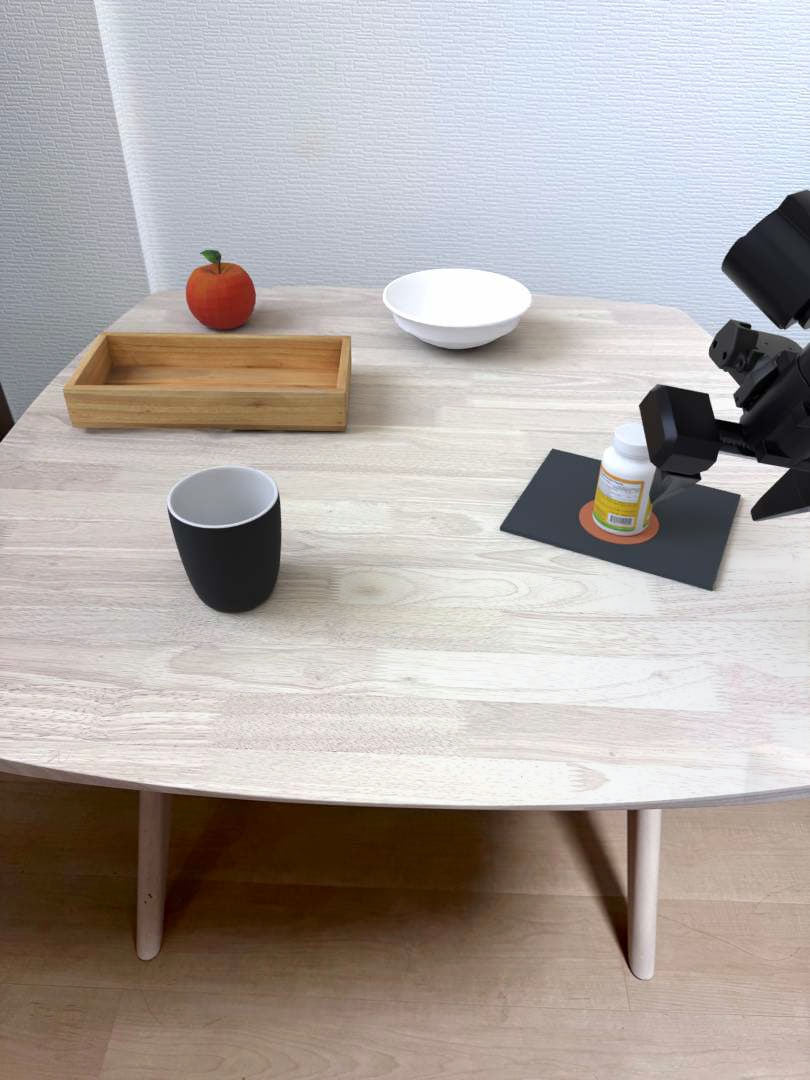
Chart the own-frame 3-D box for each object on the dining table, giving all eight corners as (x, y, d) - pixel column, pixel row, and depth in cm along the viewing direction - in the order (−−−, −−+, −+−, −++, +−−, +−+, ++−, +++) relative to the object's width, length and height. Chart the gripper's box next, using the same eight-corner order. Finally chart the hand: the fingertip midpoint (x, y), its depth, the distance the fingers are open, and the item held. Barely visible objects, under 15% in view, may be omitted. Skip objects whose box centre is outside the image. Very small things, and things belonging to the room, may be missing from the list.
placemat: (739, 498, 86) (741, 493, 86) (711, 591, 75) (713, 586, 74) (551, 451, 93) (552, 447, 93) (499, 530, 82) (500, 525, 81)
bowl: (397, 378, 107) (397, 330, 103) (371, 316, 122) (371, 272, 118) (547, 365, 110) (553, 318, 106) (504, 306, 125) (507, 263, 121)
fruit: (213, 344, 114) (203, 271, 108) (178, 322, 120) (166, 251, 114) (272, 326, 119) (266, 255, 113) (236, 305, 125) (228, 237, 119)
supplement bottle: (625, 499, 85) (643, 414, 79) (660, 529, 81) (681, 441, 75) (580, 512, 83) (595, 425, 77) (613, 543, 79) (631, 454, 73)
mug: (309, 588, 75) (301, 493, 68) (227, 640, 69) (210, 542, 63) (226, 531, 81) (212, 440, 75) (145, 574, 76) (123, 480, 70)
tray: (352, 373, 108) (350, 331, 104) (346, 434, 96) (345, 389, 92) (109, 373, 107) (100, 330, 104) (73, 434, 95) (61, 388, 92)
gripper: (914, 317, 61) (779, 446, 74) (686, 263, 57) (584, 410, 70) (970, 439, 55) (812, 556, 68) (720, 389, 51) (601, 524, 64)
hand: (703, 508), depth 68 cm, fingers open, 9 cm apart
